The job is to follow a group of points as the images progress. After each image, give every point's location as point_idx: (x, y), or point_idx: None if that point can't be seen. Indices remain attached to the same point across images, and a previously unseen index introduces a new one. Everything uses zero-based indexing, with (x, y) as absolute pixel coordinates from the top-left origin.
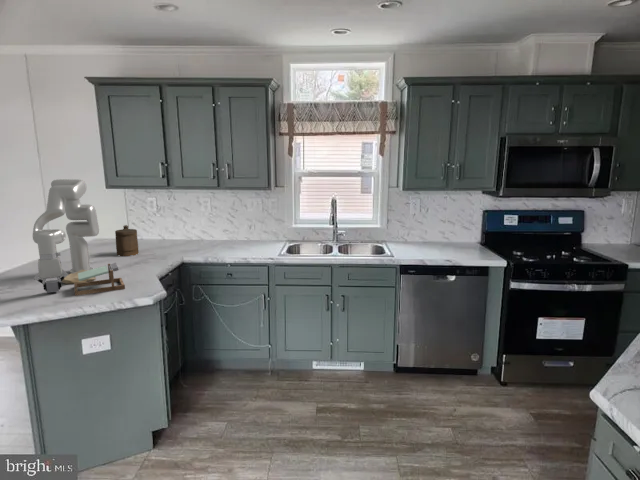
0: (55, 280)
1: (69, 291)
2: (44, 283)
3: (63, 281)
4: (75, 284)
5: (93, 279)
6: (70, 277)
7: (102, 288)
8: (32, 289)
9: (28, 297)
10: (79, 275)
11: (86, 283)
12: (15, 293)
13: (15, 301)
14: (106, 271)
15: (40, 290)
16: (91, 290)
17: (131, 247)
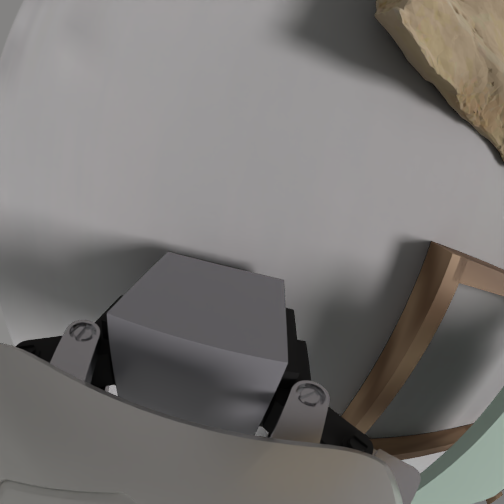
0: (239, 391)
1: (342, 354)
2: (103, 382)
3: (393, 34)
4: (441, 301)
5: None
6: None
7: (435, 452)
8: (95, 45)
9: (57, 290)
10: (460, 462)
11: (498, 292)
12: (10, 113)
13: (23, 316)
14: (491, 496)
15: (130, 116)
16: (396, 457)
17: None
